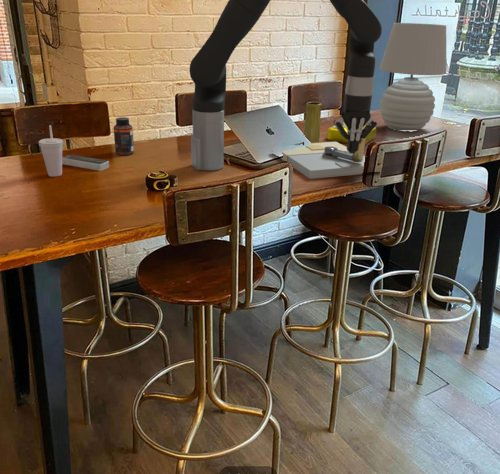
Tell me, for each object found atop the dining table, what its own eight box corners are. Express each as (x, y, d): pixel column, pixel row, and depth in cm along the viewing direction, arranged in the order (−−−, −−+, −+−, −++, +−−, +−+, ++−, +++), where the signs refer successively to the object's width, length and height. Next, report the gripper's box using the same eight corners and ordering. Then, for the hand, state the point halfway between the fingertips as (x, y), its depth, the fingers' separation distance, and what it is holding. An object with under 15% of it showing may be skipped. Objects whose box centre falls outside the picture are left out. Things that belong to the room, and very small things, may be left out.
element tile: (363, 146, 188) (365, 133, 186) (325, 140, 195) (326, 127, 193) (376, 138, 200) (378, 125, 198) (339, 132, 207) (341, 120, 205)
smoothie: (53, 179, 143) (46, 129, 138) (38, 175, 146) (31, 125, 141) (71, 173, 148) (66, 124, 143) (56, 169, 151) (50, 121, 146)
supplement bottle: (138, 153, 169) (135, 118, 165) (122, 156, 165) (119, 121, 161) (127, 149, 173) (124, 115, 168) (111, 153, 169) (109, 118, 164)
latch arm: (321, 153, 164) (323, 131, 161) (329, 151, 167) (331, 129, 164) (357, 163, 155) (360, 140, 153) (365, 160, 158) (368, 138, 155)
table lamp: (386, 119, 230) (400, 22, 213) (443, 129, 217) (463, 25, 200) (361, 129, 211) (374, 23, 194) (423, 140, 198) (442, 27, 181)
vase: (318, 145, 185) (322, 105, 179) (301, 144, 186) (304, 104, 180) (320, 141, 191) (323, 102, 185) (303, 140, 192) (306, 101, 186)
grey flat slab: (310, 179, 151) (311, 169, 149) (272, 153, 175) (272, 144, 173) (381, 172, 159) (382, 163, 157) (335, 148, 183) (336, 140, 181)
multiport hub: (100, 172, 152) (100, 164, 151) (61, 165, 157) (60, 157, 156) (110, 168, 156) (109, 160, 155) (71, 161, 161) (70, 154, 160)
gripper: (341, 94, 142) (334, 156, 149) (386, 94, 145) (377, 155, 152) (332, 90, 149) (326, 149, 156) (375, 90, 151) (367, 149, 158)
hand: (351, 152), depth 154 cm, fingers closed
